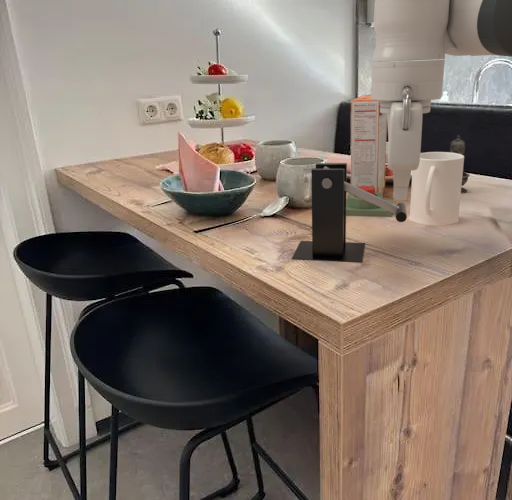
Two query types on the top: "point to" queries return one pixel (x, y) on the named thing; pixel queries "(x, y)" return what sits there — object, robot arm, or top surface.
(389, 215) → the button block
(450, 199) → the mug
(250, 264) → the top surface
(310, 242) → the lever bracket
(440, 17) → the robot arm
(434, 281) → the top surface
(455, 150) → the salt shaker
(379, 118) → the cracker box
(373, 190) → the button
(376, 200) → the press lever
